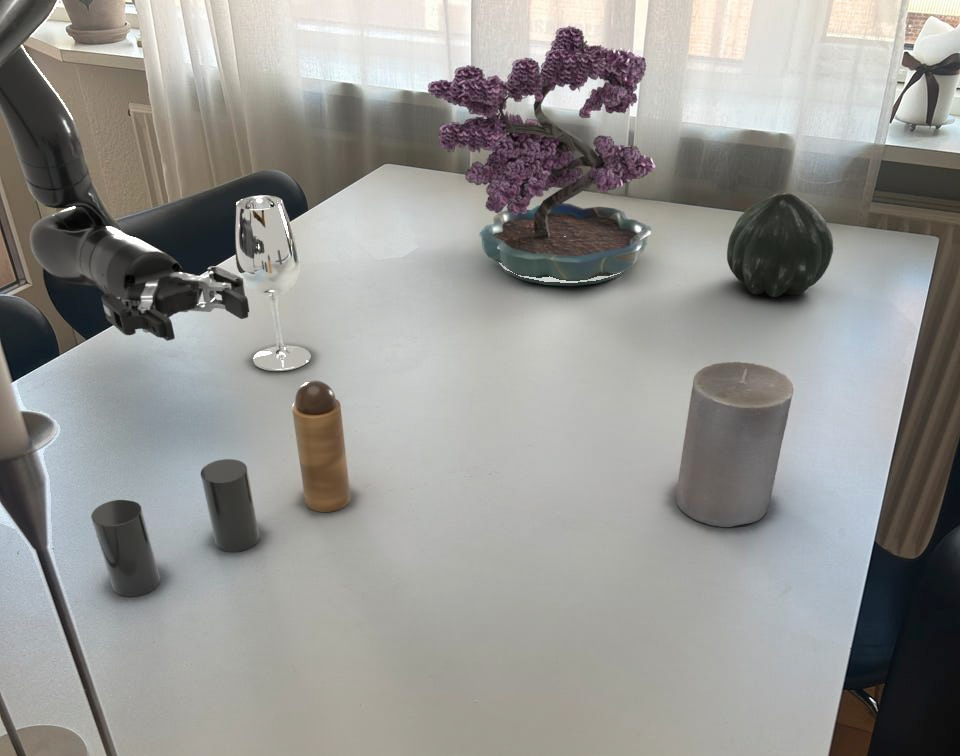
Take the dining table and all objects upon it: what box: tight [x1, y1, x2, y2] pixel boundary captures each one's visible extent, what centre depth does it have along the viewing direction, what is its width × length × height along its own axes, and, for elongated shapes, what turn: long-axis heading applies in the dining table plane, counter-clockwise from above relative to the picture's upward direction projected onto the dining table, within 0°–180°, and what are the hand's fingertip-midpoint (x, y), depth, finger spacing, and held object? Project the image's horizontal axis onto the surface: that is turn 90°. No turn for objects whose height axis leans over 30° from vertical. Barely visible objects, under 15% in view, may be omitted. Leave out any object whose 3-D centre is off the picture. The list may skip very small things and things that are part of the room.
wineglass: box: [234, 195, 312, 372], centre depth 126 cm, size 8×8×20 cm
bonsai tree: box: [427, 25, 657, 287], centre depth 148 cm, size 35×27×32 cm
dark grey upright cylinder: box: [90, 499, 161, 598], centre depth 93 cm, size 4×4×8 cm
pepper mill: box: [291, 380, 351, 513], centre depth 102 cm, size 5×5×14 cm
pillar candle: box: [675, 361, 794, 528], centre depth 101 cm, size 10×10×15 cm
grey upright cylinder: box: [200, 458, 260, 553], centre depth 98 cm, size 4×4×8 cm
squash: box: [726, 191, 834, 298], centre depth 147 cm, size 14×15×15 cm
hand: (208, 319), depth 103 cm, fingers open, 8 cm apart
